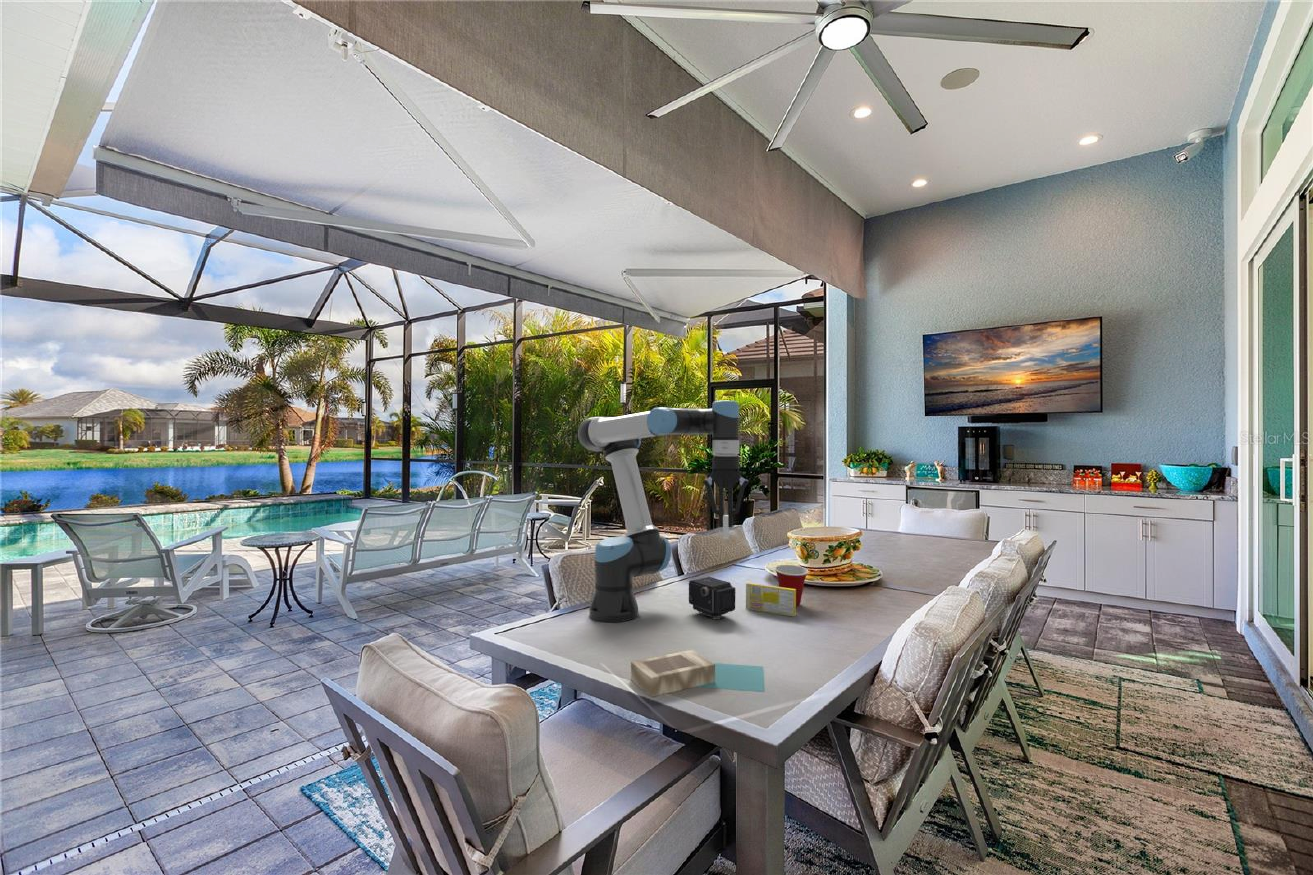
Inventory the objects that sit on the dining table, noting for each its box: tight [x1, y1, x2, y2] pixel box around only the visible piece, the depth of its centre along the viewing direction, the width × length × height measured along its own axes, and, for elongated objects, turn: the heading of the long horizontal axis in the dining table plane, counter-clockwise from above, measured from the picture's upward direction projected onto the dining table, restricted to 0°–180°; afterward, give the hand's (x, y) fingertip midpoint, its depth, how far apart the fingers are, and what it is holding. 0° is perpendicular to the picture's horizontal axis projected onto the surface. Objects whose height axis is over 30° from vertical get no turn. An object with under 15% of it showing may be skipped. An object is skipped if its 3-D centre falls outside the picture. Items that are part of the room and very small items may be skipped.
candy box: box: [745, 582, 797, 618], centre depth 186 cm, size 16×2×8 cm, turn 58°
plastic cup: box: [774, 564, 809, 608], centre depth 193 cm, size 11×11×12 cm
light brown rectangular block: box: [630, 649, 715, 698], centre depth 132 cm, size 4×10×16 cm
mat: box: [695, 662, 765, 693], centre depth 135 cm, size 26×14×1 cm, turn 81°
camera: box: [688, 576, 736, 620], centre depth 182 cm, size 11×11×15 cm
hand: (725, 538), depth 167 cm, fingers closed
